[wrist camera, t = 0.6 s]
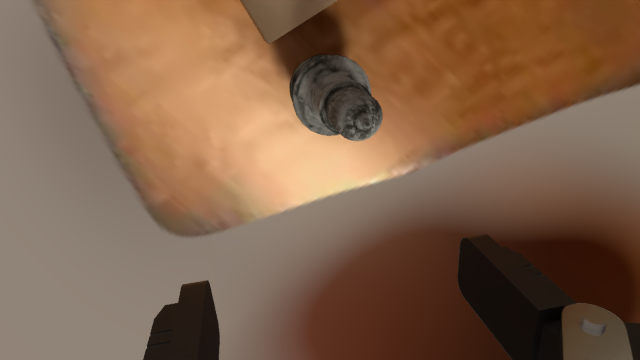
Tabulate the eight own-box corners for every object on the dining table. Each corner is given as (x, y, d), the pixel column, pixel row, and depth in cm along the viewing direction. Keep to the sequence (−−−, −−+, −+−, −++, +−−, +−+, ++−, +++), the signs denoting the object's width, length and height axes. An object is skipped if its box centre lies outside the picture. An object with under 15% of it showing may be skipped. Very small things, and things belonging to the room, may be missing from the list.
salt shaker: (273, 72, 32) (296, 103, 21) (339, 37, 32) (397, 49, 21) (306, 136, 34) (342, 193, 24) (367, 103, 34) (432, 145, 24)
